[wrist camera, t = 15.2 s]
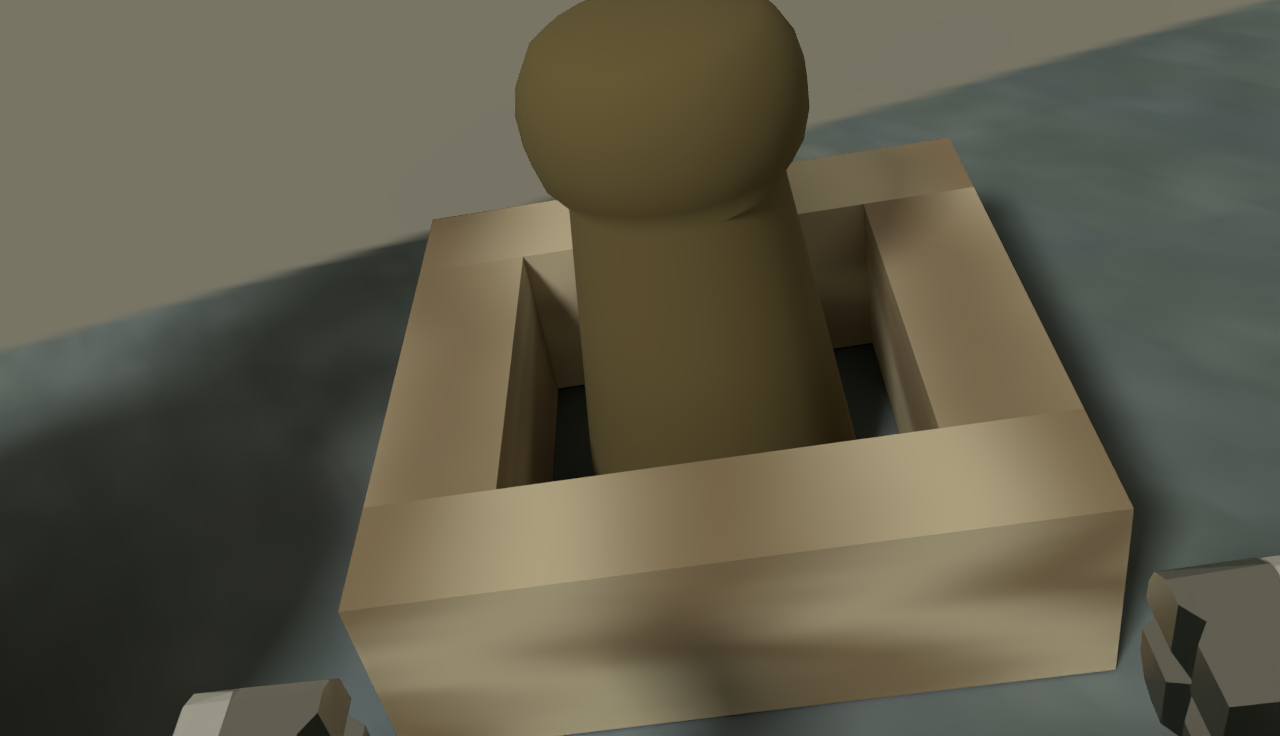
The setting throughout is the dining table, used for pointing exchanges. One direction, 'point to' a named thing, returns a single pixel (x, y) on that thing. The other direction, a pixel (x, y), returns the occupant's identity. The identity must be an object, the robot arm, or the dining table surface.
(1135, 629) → the dining table surface
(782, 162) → the cork
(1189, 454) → the dining table surface
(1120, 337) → the dining table surface
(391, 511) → the socket block
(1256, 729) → the robot arm
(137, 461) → the dining table surface
